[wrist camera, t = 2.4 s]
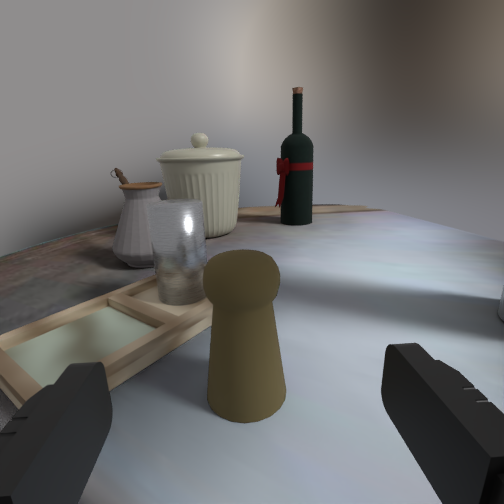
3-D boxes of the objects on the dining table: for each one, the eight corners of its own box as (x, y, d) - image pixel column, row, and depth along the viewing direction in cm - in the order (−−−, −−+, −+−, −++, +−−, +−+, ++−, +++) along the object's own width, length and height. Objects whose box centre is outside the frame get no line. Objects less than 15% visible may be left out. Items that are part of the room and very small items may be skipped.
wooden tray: (189, 275, 47) (187, 261, 46) (257, 295, 40) (257, 279, 39) (-19, 366, 28) (-26, 345, 27) (41, 435, 21) (32, 408, 20)
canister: (262, 234, 68) (259, 130, 61) (181, 249, 59) (168, 130, 53) (225, 220, 83) (220, 135, 76) (156, 231, 74) (143, 135, 68)
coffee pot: (195, 261, 53) (187, 169, 48) (125, 278, 47) (107, 174, 42) (154, 236, 70) (144, 166, 65) (97, 246, 63) (82, 169, 59)
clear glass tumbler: (186, 280, 42) (177, 197, 39) (219, 290, 39) (213, 200, 35) (148, 297, 37) (134, 205, 34) (182, 310, 34) (171, 209, 31)
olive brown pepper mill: (199, 422, 21) (183, 272, 18) (213, 364, 27) (203, 242, 24) (289, 423, 21) (290, 270, 18) (283, 364, 27) (283, 240, 23)
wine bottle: (266, 223, 78) (264, 88, 69) (296, 217, 84) (298, 92, 75) (288, 228, 72) (288, 82, 63) (319, 221, 78) (323, 86, 68)
